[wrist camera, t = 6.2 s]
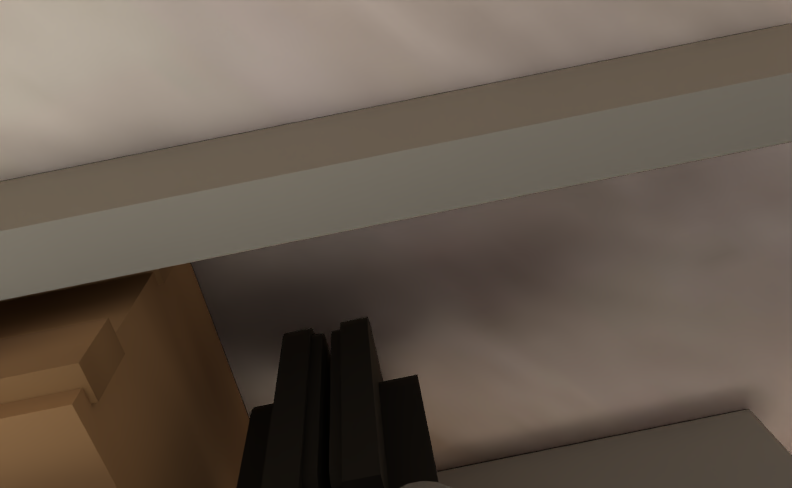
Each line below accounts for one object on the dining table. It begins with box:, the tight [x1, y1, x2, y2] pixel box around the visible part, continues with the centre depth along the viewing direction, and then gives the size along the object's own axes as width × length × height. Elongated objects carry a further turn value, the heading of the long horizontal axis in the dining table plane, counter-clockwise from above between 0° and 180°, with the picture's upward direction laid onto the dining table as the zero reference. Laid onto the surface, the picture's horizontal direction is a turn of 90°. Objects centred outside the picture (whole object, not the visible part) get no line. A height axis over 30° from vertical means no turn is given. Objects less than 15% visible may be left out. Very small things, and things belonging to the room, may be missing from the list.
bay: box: [0, 23, 792, 488], centre depth 10 cm, size 23×10×6 cm, turn 100°
